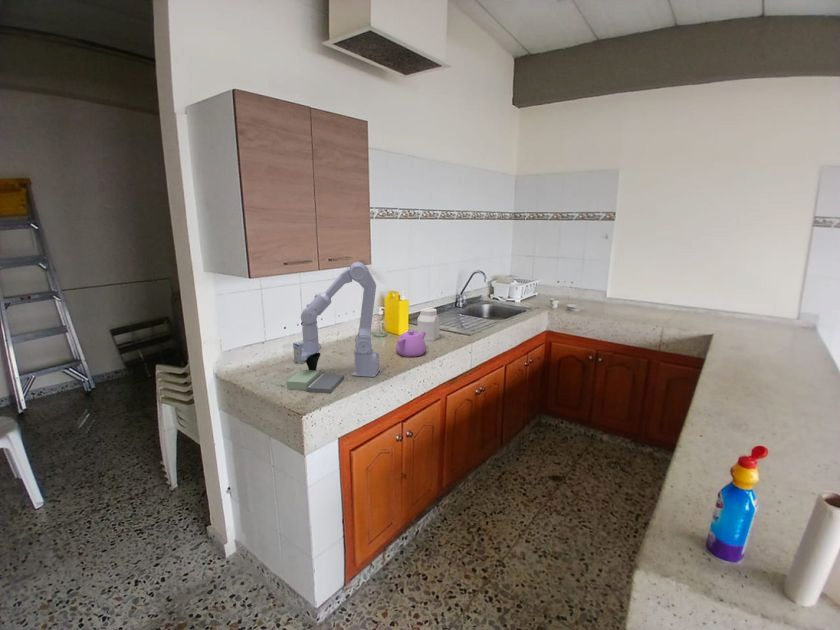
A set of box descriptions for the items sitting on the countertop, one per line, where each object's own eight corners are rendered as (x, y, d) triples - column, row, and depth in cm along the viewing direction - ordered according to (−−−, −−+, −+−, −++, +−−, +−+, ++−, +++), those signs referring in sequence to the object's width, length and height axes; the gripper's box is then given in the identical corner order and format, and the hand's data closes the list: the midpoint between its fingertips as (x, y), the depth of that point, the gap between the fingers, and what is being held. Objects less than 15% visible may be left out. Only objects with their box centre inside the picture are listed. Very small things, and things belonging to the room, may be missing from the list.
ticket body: (344, 378, 162) (343, 374, 162) (330, 393, 149) (330, 389, 149) (322, 377, 164) (321, 373, 164) (306, 391, 151) (306, 387, 150)
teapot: (436, 349, 198) (436, 327, 195) (411, 361, 182) (411, 337, 179) (412, 344, 206) (412, 323, 203) (386, 355, 190) (386, 332, 187)
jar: (431, 342, 209) (431, 312, 205) (414, 339, 213) (414, 310, 210) (441, 336, 219) (442, 308, 215) (425, 334, 223) (425, 306, 220)
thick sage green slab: (320, 378, 163) (319, 370, 162) (307, 390, 152) (306, 382, 151) (301, 376, 164) (301, 369, 164) (287, 388, 153) (286, 381, 152)
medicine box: (309, 357, 187) (308, 338, 185) (315, 359, 184) (314, 340, 182) (294, 362, 181) (292, 342, 179) (300, 364, 178) (298, 344, 176)
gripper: (308, 333, 169) (311, 364, 173) (292, 343, 155) (294, 377, 159) (325, 333, 168) (327, 365, 171) (310, 344, 154) (312, 379, 157)
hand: (312, 371), depth 165 cm, fingers closed
